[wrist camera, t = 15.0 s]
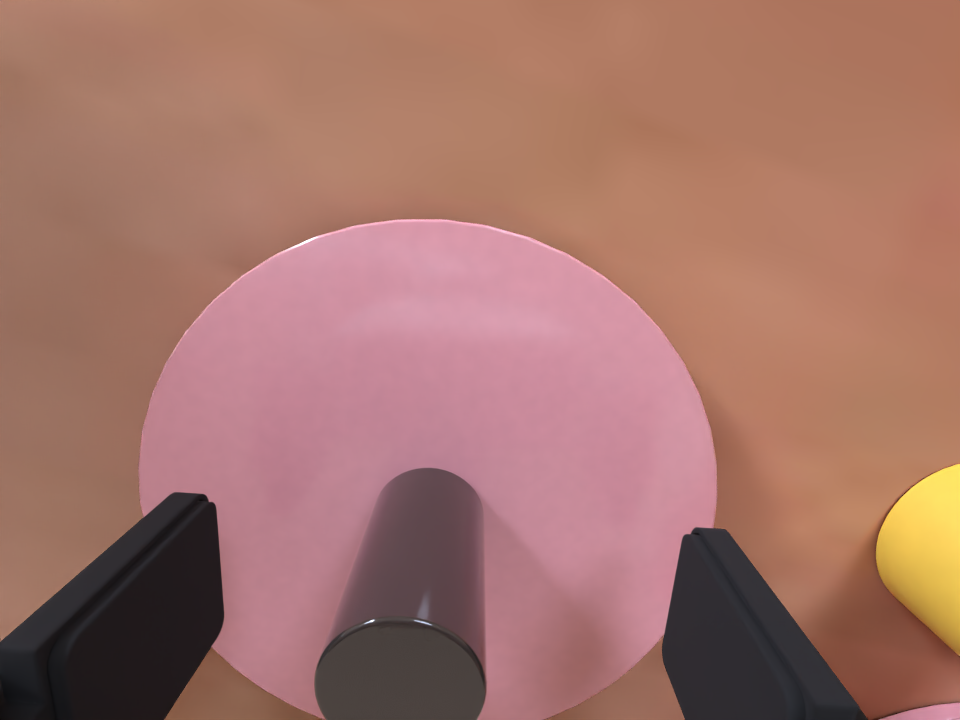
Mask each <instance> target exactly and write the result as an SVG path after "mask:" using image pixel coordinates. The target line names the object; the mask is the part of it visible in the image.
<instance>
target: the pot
mask: <svg viewBox="0 0 960 720" xmlns="http://www.w3.org/2000/svg"><path fill="white" fill-rule="evenodd" d="M879 720H960V702H958V703H949V704H939V705H933V706H928V707H923V708H918V709H913V710H908V711H905V712H902V713H898V714H895V715H892V716H888V717H885V718H882V719H879Z"/></svg>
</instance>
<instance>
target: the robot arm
mask: <svg viewBox="0 0 960 720" xmlns="http://www.w3.org/2000/svg"><path fill="white" fill-rule="evenodd" d="M223 622H224V603H223V589H222V576H221V562H220V549H219V535H218V522H217V509H216V505H215V503H213V502H209V500H208V498H207V496H206V495H205V494H198V493H183V492H174V493H172V494H170V495H169V496H168V497H167V498H165V499H164V500H163V501H162V502H161V503H160V504H159V505H157V506H156V507H155V508H154V509H153V510H152V511H151V512H149V513H148V514H147V515H146V516H145V517H144V518H142V519H141V520H140V521H139V522H138V523H137V524H136V525H134V526H133V527H132V528H131V529H130V530H129V531H127V532H126V533H125V534H124V535H123V536H122V537H121V538H119V539H118V540H117V541H116V542H115V543H114V544H113V545H111V546H110V547H109V548H108V549H107V550H106V551H104V552H103V553H102V554H101V555H100V556H99V557H98V558H96V559H95V560H94V561H93V562H92V563H91V564H89V565H88V566H87V567H86V568H85V569H84V570H83V571H81V572H80V573H79V574H78V575H77V576H76V577H75V578H73V579H72V580H71V581H70V582H69V583H68V584H66V585H65V586H64V587H63V588H62V589H61V590H60V591H58V592H57V593H56V594H55V595H54V596H53V597H51V598H50V599H49V600H48V601H47V602H46V603H45V604H43V605H42V606H41V607H40V608H39V609H38V610H37V611H35V612H34V613H33V614H32V615H31V616H30V617H28V618H27V619H26V620H25V621H24V622H23V623H22V624H20V625H19V626H18V627H17V628H16V629H15V630H13V631H12V632H11V633H10V634H9V635H8V636H7V637H5V638H4V639H3V640H2V641H1V642H0V720H164V719H165V717H166V716H167V714H168V713H169V711H170V710H171V708H172V707H173V705H174V703H175V702H176V700H177V699H178V697H179V696H180V694H181V693H182V691H183V690H184V688H185V687H186V685H187V683H188V682H189V680H190V679H191V677H192V676H193V674H194V673H195V671H196V670H197V668H198V667H199V665H200V663H201V662H202V660H203V659H204V657H205V656H206V654H207V653H208V651H209V650H210V648H211V646H212V645H213V643H214V642H215V640H216V639H217V637H218V636H219V634H220V632H221V629H222V626H223ZM662 656H663V662H664V665H665V668H666V671H667V674H668V676H669V679H670V681H671V684H672V687H673V689H674V692H675V694H676V697H677V700H678V702H679V705H680V707H681V710H682V713H683V715H684V718H685V720H868V719H867V718H866V716H865V715H864V714H863V712H862V711H861V710H860V708H859V706H858V704H857V703H856V702H855V700H854V699H853V698H852V696H851V695H850V694H849V692H848V691H847V690H846V688H845V687H844V686H843V684H842V683H841V682H840V680H839V679H838V678H837V676H836V675H835V674H834V672H833V671H832V670H831V668H830V667H829V666H828V664H827V663H826V662H825V660H824V659H823V658H822V656H821V655H820V654H819V652H818V651H817V650H816V648H815V647H814V646H813V644H812V643H811V642H810V640H809V639H808V638H807V636H806V635H805V634H804V632H803V631H802V630H801V628H800V627H799V626H798V624H797V623H796V622H795V620H794V619H793V618H792V616H791V615H790V614H789V612H788V611H787V610H786V608H785V607H784V606H783V604H782V603H781V602H780V600H779V599H778V598H777V596H776V595H775V594H774V592H773V591H772V590H771V588H770V587H769V586H768V584H767V583H766V582H765V580H764V579H763V578H762V576H761V575H760V574H759V572H758V571H757V570H756V568H755V567H754V566H753V564H752V563H751V562H750V560H749V559H748V558H747V556H746V555H745V554H744V552H743V551H742V550H741V548H740V547H739V546H738V544H737V543H736V542H735V540H734V539H733V538H732V536H731V535H730V534H729V532H727V531H726V530H725V529H716V528H701V527H695V528H694V529H693V530H692V532H691V534H685V535H684V536H683V538H682V542H681V547H680V552H679V558H678V563H677V569H676V574H675V579H674V585H673V590H672V595H671V601H670V606H669V612H668V617H667V622H666V628H665V633H664V638H663V644H662Z"/></svg>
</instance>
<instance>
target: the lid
mask: <svg viewBox="0 0 960 720" xmlns="http://www.w3.org/2000/svg"><path fill="white" fill-rule="evenodd" d="M138 470H139V494H140V504H141V509H142V515H143V518H144V517H145V516H146V515H147V514H148V513H149V512H151V511H152V510H153V509H154V508H155V507H156V506H157V505H159V504H160V503H161V502H162V501H163V500H164V499H165V498H167V497H168V496H169V495H170V494H172V493H174V492H183V493H198V494H205V495H206V496H207V498H208V500H209V502H213V503H215V505H216V509H217V522H218V535H219V549H220V562H221V576H222V589H223V603H224V622H223V626H222V629H221V632H220V634H219V636H218V637H217V639H216V640H215V642H214V643H213V645H212V646H211V647H212V648H213V649H214V650H215V651H216V652H217V653H218V654H219V655H220V656H221V657H222V658H224V659H225V660H226V661H227V662H228V663H229V664H230V665H231V666H232V667H233V668H235V669H236V670H237V671H238V672H240V673H241V674H242V675H244V676H245V677H246V678H248V679H249V680H251V681H252V682H253V683H255V684H256V685H258V686H259V687H260V688H262V689H263V690H265V691H267V692H268V693H270V694H272V695H274V696H275V697H277V698H279V699H281V700H282V701H284V702H286V703H288V704H290V705H291V706H293V707H296V708H298V709H300V710H303V711H305V712H307V713H309V714H312V715H314V716H316V717H319V718H321V719H324V720H545V719H548V718H550V717H553V716H555V715H557V714H559V713H561V712H564V711H566V710H568V709H570V708H573V707H575V706H577V705H579V704H580V703H582V702H584V701H586V700H587V699H589V698H591V697H592V696H594V695H596V694H597V693H599V692H601V691H602V690H604V689H606V688H607V687H608V686H610V685H611V684H612V683H614V682H615V681H616V680H618V679H619V678H620V677H621V676H623V675H624V674H625V673H627V672H628V671H629V670H631V669H632V668H633V667H634V666H635V665H636V664H637V663H638V662H639V661H640V660H641V659H642V658H643V657H644V656H645V655H646V654H647V653H648V652H649V651H650V650H651V649H652V648H653V647H654V646H655V645H656V644H657V643H658V641H659V640H660V639H661V638H662V636H663V635H664V633H665V628H666V622H667V617H668V612H669V606H670V601H671V595H672V590H673V585H674V579H675V574H676V569H677V563H678V558H679V552H680V547H681V542H682V538H683V536H684V535H685V534H691V532H692V530H693V529H694V528H695V527H701V528H714V521H715V513H716V505H717V462H716V456H715V450H714V444H713V438H712V432H711V428H710V424H709V421H708V418H707V415H706V412H705V409H704V406H703V403H702V400H701V397H700V394H699V392H698V390H697V388H696V386H695V384H694V382H693V380H692V378H691V376H690V374H689V372H688V370H687V368H686V366H685V364H684V362H683V360H682V359H681V357H680V356H679V354H678V353H677V351H676V350H675V349H674V347H673V346H672V344H671V343H670V341H669V340H668V338H667V337H666V336H665V334H664V333H663V331H662V330H661V329H660V328H659V327H658V325H657V324H656V323H655V322H654V321H653V320H652V319H651V318H650V317H649V316H648V315H647V314H646V313H645V312H644V310H643V309H642V308H641V307H640V306H639V305H638V304H637V303H636V302H635V301H634V300H633V299H632V298H631V297H629V296H628V295H627V294H626V293H624V292H623V291H622V290H621V289H619V288H618V287H617V286H616V285H614V284H613V283H612V282H611V281H609V280H608V279H607V278H606V277H605V276H603V275H602V274H600V273H599V272H597V271H595V270H594V269H592V268H590V267H589V266H587V265H585V264H584V263H582V262H580V261H579V260H577V259H575V258H574V257H572V256H570V255H569V254H567V253H565V252H562V251H560V250H558V249H555V248H553V247H551V246H548V245H546V244H544V243H541V242H539V241H537V240H534V239H532V238H530V237H527V236H525V235H521V234H517V233H514V232H510V231H506V230H503V229H499V228H495V227H492V226H488V225H484V224H476V223H469V222H461V221H454V220H446V219H398V220H390V221H383V222H376V223H369V224H362V225H355V226H352V227H348V228H345V229H341V230H337V231H334V232H330V233H327V234H323V235H320V236H316V237H313V238H311V239H309V240H307V241H304V242H302V243H300V244H298V245H295V246H293V247H291V248H289V249H286V250H284V251H282V252H279V253H277V254H275V255H274V256H272V257H271V258H269V259H267V260H266V261H264V262H263V263H261V264H259V265H258V266H256V267H255V268H253V269H251V270H250V271H248V272H247V273H245V274H243V275H242V276H241V277H239V278H238V279H237V280H236V281H235V282H234V283H232V284H231V285H230V286H229V287H228V288H227V289H225V290H224V291H223V292H222V293H221V294H220V295H218V296H217V297H216V298H215V299H214V300H212V301H211V302H210V304H209V305H208V306H207V307H206V308H205V309H204V311H203V312H202V313H201V314H200V315H199V316H198V317H197V319H196V320H195V321H194V322H193V323H192V324H191V325H190V327H189V328H188V329H187V330H186V332H185V333H184V335H183V336H182V338H181V339H180V341H179V343H178V344H177V346H176V347H175V349H174V350H173V352H172V354H171V355H170V357H169V358H168V360H167V362H166V364H165V366H164V368H163V370H162V373H161V375H160V377H159V380H158V382H157V384H156V386H155V389H154V391H153V393H152V396H151V399H150V403H149V407H148V410H147V414H146V418H145V422H144V425H143V429H142V436H141V445H140V455H139V464H138Z"/></svg>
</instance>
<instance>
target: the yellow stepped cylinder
mask: <svg viewBox="0 0 960 720" xmlns="http://www.w3.org/2000/svg"><path fill="white" fill-rule="evenodd" d="M876 562H877V567H878V571H879V574H880V577H881V579H882V581H883V583H884V585H885V586H886V588H887V589H888V590H889V591H890V592H891V594H892V595H893V596H894V597H895V598H896V599H898V600H899V601H900V602H901V603H902V604H903V605H904V606H905V607H906V608H907V609H908V610H910V611H911V612H912V613H913V614H914V615H915V616H916V617H917V618H918V619H919V620H920V621H922V622H923V623H924V624H925V625H926V626H927V627H928V628H929V629H930V630H931V631H932V632H933V633H935V634H936V635H937V636H938V637H939V638H940V639H941V640H942V641H943V642H944V643H945V644H947V645H948V646H949V647H950V648H951V649H952V650H953V651H954V652H955V653H956V654H957V655H959V656H960V464H957V465H953V466H951V467H948V468H945V469H942V470H940V471H938V472H936V473H934V474H932V475H930V476H928V477H927V478H925V479H923V480H922V481H920V482H919V483H917V484H916V485H915V486H913V487H912V488H911V489H910V490H909V491H908V492H906V493H905V494H904V495H903V496H902V497H901V498H900V499H899V501H898V502H897V503H896V504H895V505H894V507H893V508H892V509H891V511H890V512H889V514H888V515H887V517H886V519H885V521H884V523H883V525H882V527H881V530H880V533H879V536H878V540H877V545H876Z"/></svg>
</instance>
